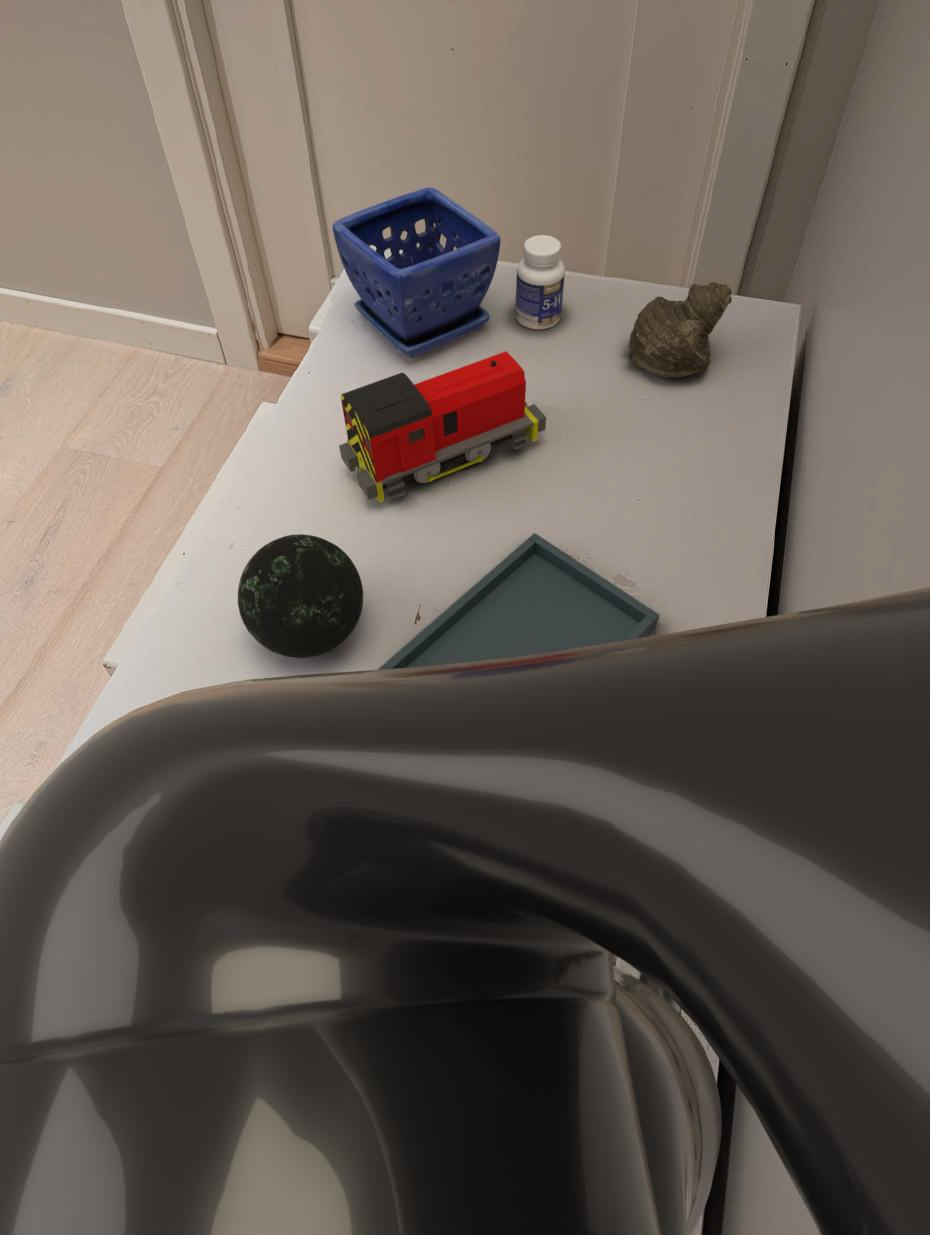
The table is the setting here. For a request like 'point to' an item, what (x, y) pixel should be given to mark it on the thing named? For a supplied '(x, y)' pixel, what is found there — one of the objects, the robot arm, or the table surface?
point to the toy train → (435, 423)
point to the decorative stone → (300, 596)
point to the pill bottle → (540, 283)
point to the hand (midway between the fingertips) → (635, 1089)
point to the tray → (529, 612)
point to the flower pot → (419, 269)
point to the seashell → (678, 331)
